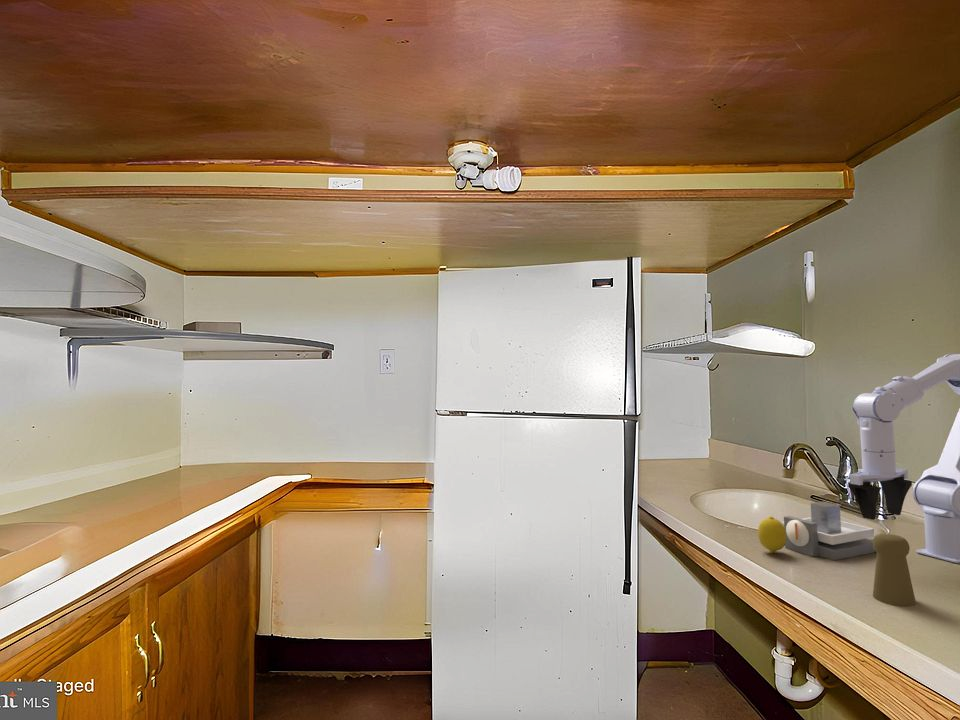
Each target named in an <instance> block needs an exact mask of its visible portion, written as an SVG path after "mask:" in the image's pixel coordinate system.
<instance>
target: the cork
mask: <svg viewBox="0 0 960 720" xmlns="http://www.w3.org/2000/svg"><path fill="white" fill-rule="evenodd" d="M872 540H873V547H874V550H875V551H876V552H875V553H876V557H875V558H876V560H875V569H874V571H875V572H874V579H873V590H872V598H874V599H875V600H876V601H879V602H881V603H885V604H886V605H892V606H898V607H911V606H915V605H916V604H917V601H916V597H915V592H914V587H913V583H912V578H911V573H910V569H909V564H908V561H907V556H908V555H909V553H910V544H909V542H908V541H907V539H906V538H905V537H902V536H900V535H896V534H891V533H878V534H876V535H874V537H872Z"/></svg>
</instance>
